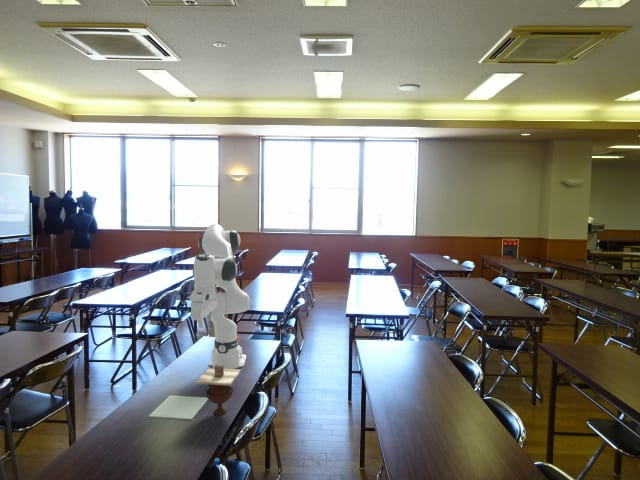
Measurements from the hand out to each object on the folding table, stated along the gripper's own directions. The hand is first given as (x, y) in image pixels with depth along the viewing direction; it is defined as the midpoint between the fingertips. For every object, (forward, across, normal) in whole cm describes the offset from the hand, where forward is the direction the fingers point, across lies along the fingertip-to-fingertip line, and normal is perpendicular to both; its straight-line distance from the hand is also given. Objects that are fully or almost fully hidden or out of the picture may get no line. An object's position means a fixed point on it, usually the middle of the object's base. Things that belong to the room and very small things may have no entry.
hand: (205, 323), depth 179 cm
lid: (+18, +11, +10) cm, 23 cm away
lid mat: (+34, +9, -8) cm, 36 cm away
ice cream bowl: (+34, +11, +10) cm, 37 cm away
